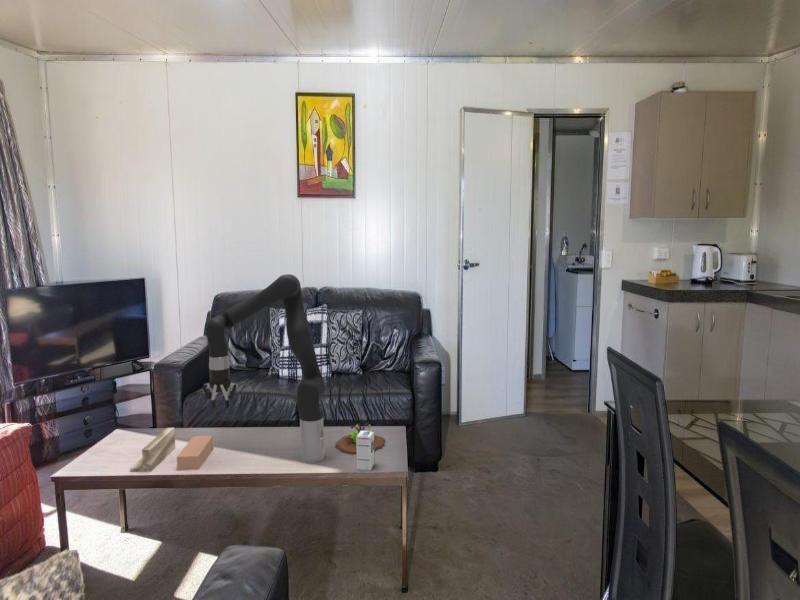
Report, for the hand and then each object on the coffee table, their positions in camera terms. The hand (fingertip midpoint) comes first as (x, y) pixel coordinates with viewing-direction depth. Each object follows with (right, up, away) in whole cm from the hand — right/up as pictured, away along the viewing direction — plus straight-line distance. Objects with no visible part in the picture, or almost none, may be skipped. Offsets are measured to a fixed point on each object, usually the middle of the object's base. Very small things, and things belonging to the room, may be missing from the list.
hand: (221, 408), depth 204 cm
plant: (+54, -20, +15) cm, 60 cm away
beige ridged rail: (-28, -21, +2) cm, 35 cm away
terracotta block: (-11, -21, +3) cm, 24 cm away
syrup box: (+58, -22, -6) cm, 63 cm away
